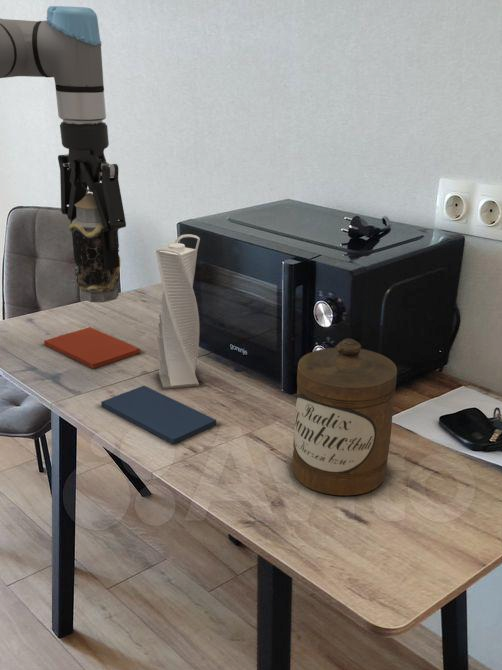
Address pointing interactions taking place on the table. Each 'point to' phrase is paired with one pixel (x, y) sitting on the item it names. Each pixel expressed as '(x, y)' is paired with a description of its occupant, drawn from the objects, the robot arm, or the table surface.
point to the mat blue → (159, 414)
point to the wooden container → (343, 419)
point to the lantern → (91, 254)
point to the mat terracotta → (92, 347)
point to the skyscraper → (178, 316)
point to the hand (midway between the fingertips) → (97, 262)
